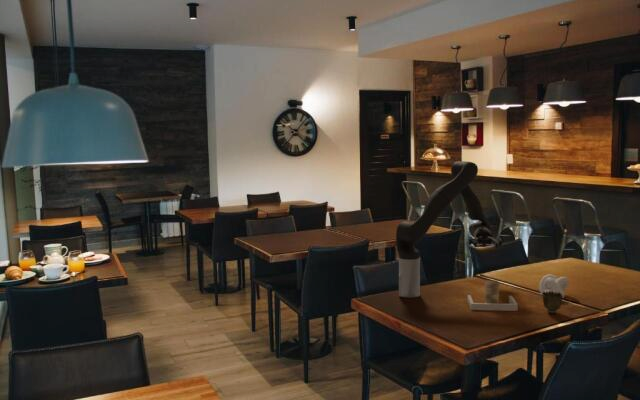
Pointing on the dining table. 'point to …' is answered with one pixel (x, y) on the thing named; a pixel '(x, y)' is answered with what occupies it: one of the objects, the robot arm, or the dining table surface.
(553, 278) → the white lumpy cloud shape
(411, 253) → the robot arm
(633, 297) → the dining table surface
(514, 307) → the tray
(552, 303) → the cup
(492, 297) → the maple block
